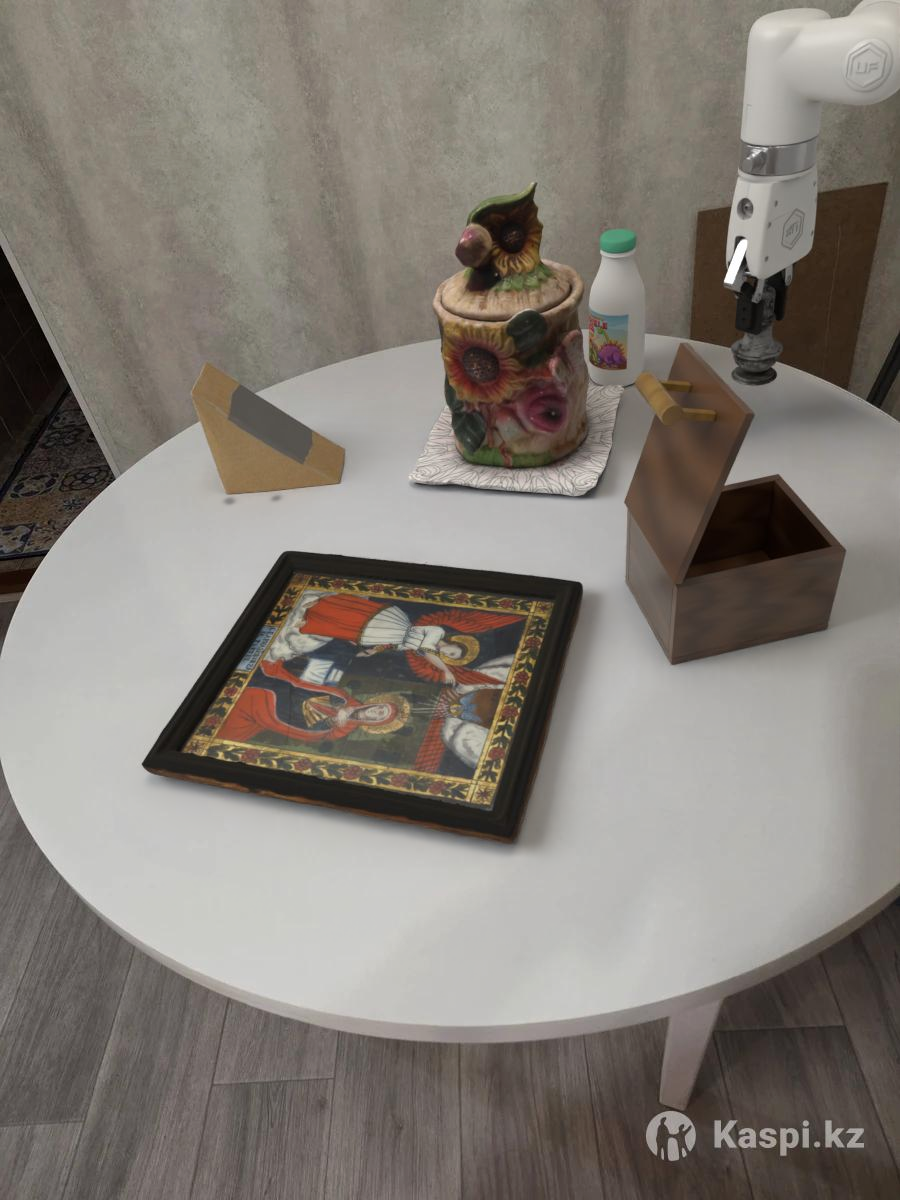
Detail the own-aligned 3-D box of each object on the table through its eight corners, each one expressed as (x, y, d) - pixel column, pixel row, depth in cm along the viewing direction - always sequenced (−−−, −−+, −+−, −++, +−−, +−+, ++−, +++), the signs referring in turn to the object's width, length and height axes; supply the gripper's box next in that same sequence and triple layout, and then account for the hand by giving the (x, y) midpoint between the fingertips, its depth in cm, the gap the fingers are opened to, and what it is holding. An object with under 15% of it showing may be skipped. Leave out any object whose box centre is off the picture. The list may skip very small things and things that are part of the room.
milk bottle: (619, 357, 128) (622, 218, 115) (654, 375, 123) (661, 233, 110) (578, 374, 126) (575, 235, 113) (611, 394, 121) (613, 250, 107)
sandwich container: (340, 484, 112) (314, 379, 102) (225, 495, 113) (188, 393, 103) (346, 448, 118) (322, 346, 108) (237, 459, 120) (204, 359, 110)
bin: (766, 549, 93) (778, 473, 87) (827, 629, 84) (846, 550, 77) (625, 581, 92) (627, 506, 85) (671, 665, 83) (677, 588, 76)
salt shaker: (749, 391, 102) (759, 293, 95) (718, 373, 107) (725, 277, 99) (790, 376, 104) (803, 278, 96) (758, 358, 108) (768, 263, 100)
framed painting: (585, 570, 94) (585, 549, 92) (560, 857, 69) (559, 838, 67) (259, 562, 102) (252, 544, 100) (130, 819, 77) (117, 800, 75)
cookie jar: (455, 391, 126) (426, 156, 105) (625, 397, 120) (631, 146, 98) (404, 490, 109) (356, 232, 88) (599, 503, 103) (599, 228, 81)
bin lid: (688, 342, 75) (629, 337, 74) (755, 414, 65) (689, 409, 64) (630, 502, 85) (578, 500, 84) (681, 584, 76) (623, 583, 74)
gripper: (759, 185, 83) (742, 361, 95) (856, 135, 90) (829, 305, 102) (695, 174, 88) (687, 343, 100) (792, 128, 95) (774, 292, 107)
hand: (759, 322), depth 101 cm, fingers closed on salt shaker, 3 cm apart
